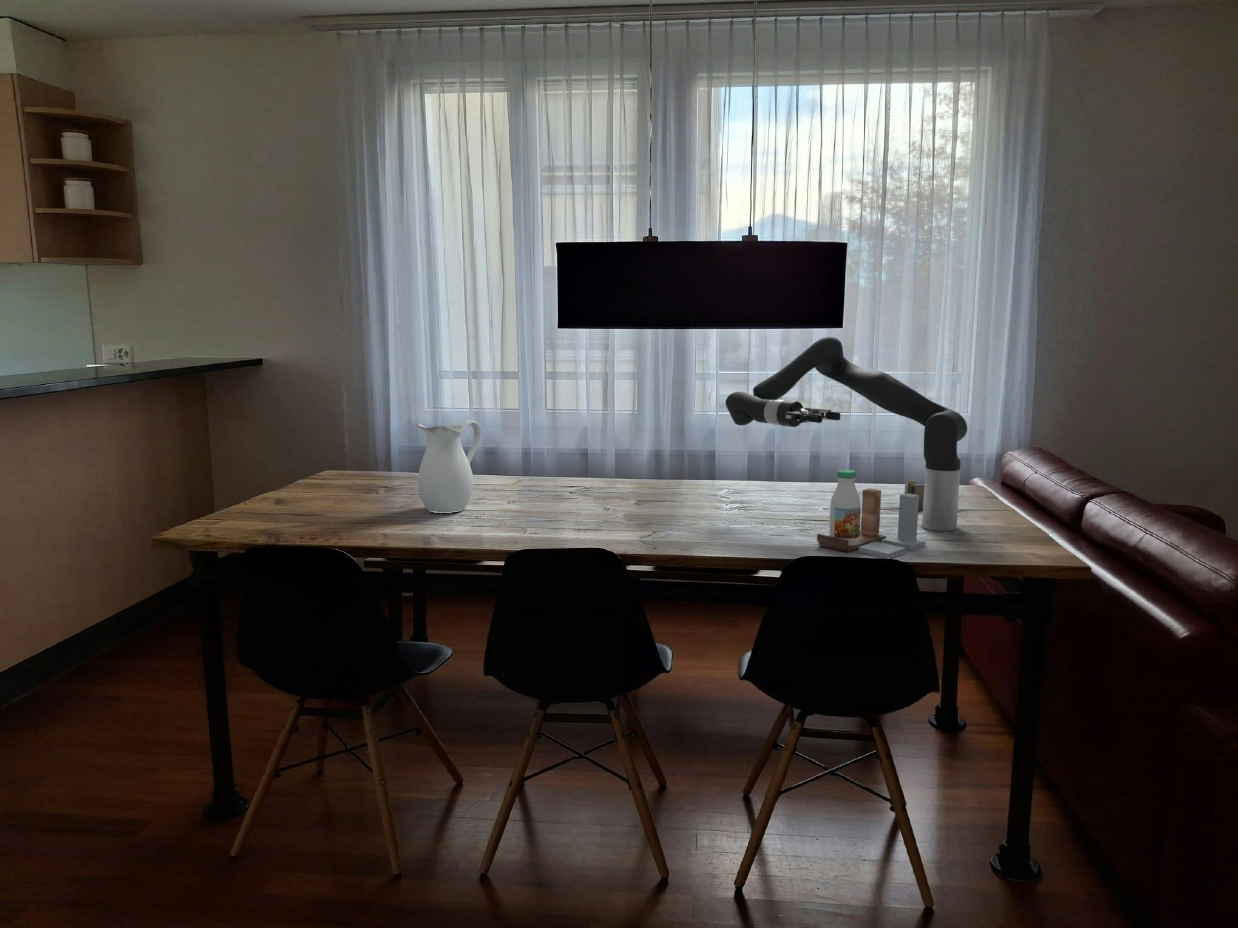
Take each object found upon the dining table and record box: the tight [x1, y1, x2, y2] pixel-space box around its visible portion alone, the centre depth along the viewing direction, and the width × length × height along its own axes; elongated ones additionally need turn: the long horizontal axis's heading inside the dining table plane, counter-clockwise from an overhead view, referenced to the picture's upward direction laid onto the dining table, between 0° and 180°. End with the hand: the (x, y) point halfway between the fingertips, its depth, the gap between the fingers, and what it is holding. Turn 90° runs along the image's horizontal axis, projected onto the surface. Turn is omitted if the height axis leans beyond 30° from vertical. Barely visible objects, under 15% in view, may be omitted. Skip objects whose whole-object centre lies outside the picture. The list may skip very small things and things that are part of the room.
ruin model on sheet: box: [904, 479, 924, 509], centre depth 265 cm, size 11×3×10 cm, turn 86°
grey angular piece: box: [858, 492, 926, 559], centre depth 218 cm, size 18×8×13 cm, turn 132°
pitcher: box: [417, 419, 482, 512], centre depth 264 cm, size 24×17×28 cm
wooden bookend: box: [816, 487, 887, 552], centre depth 223 cm, size 20×9×13 cm, turn 132°
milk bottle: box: [828, 469, 862, 545], centre depth 220 cm, size 8×8×20 cm
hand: (830, 417), depth 233 cm, fingers open, 8 cm apart
